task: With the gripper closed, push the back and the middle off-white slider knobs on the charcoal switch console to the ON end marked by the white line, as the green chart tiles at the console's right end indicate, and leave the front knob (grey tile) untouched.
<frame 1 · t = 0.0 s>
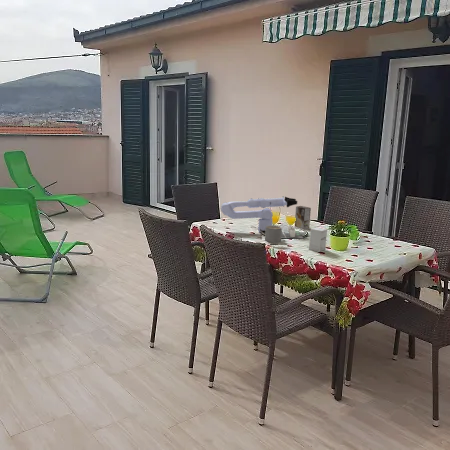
hand: (296, 201, 310), 22 cm above the table, tool horizontal, fingers open, 7 cm apart
slider back: (289, 228, 310), point 4 cm above the table, slide at 0.0 cm
coffee box: (301, 229, 327), on the table
coffee mug: (274, 242, 287), on the table
slider front: (292, 233, 296), point 4 cm above the table, slide at 0.0 cm
supplement box: (317, 249, 274), on the table
slider middle: (291, 230, 303), point 4 cm above the table, slide at 0.0 cm
console: (289, 236, 303), on the table
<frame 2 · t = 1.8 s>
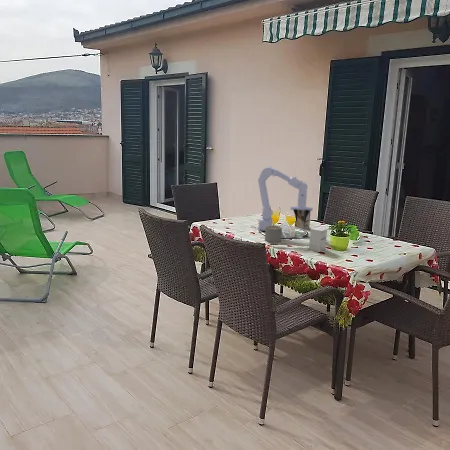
hand: (300, 220, 308), 9 cm above the table, tool pointing down, fingers open, 5 cm apart
nothing on the table moved.
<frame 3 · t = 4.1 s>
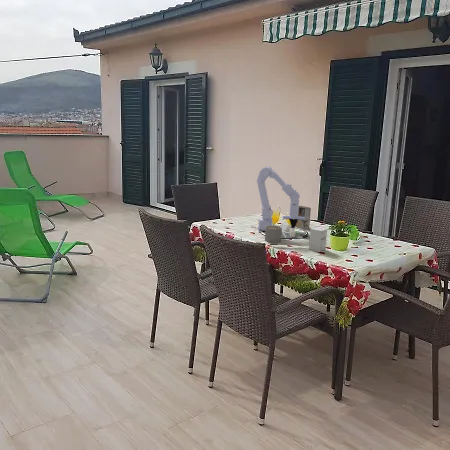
hand: (292, 230, 310), 3 cm above the table, tool pointing down, fingers closed
slider back: (288, 228, 310), point 4 cm above the table, slide at 1.1 cm, touching gripper
everything else where it was.
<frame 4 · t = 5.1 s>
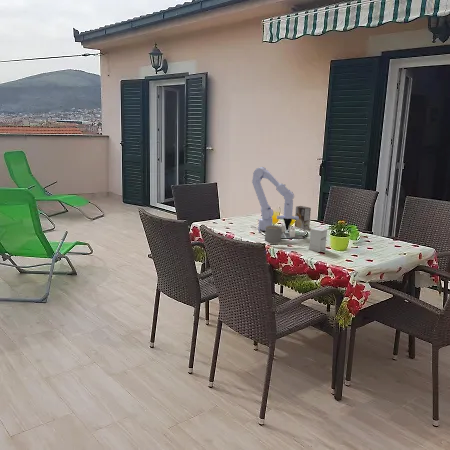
hand: (286, 229, 310), 3 cm above the table, tool pointing down, fingers closed
slider back: (282, 228, 310), point 4 cm above the table, slide at 4.9 cm, touching gripper
everything else where it was.
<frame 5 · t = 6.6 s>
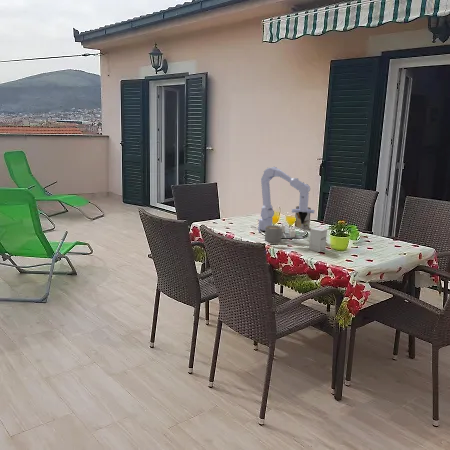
hand: (302, 223, 302), 9 cm above the table, tool pointing down, fingers closed
slider back: (282, 228, 310), point 4 cm above the table, slide at 5.0 cm
everything else where it was.
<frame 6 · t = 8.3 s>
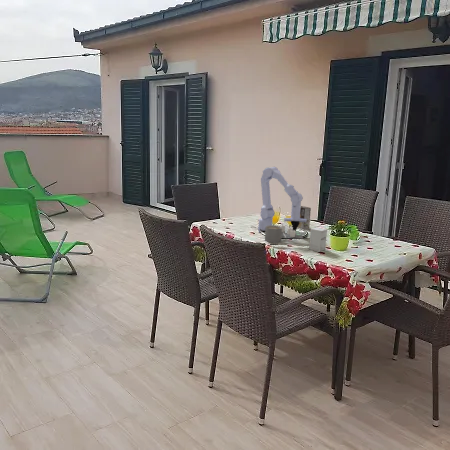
hand: (294, 232, 303), 3 cm above the table, tool pointing down, fingers closed
slider middle: (289, 230, 303), point 4 cm above the table, slide at 0.9 cm, touching gripper
everything else where it was.
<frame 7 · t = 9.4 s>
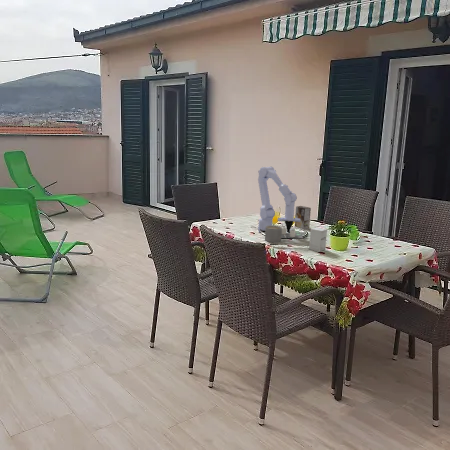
hand: (288, 232, 303), 3 cm above the table, tool pointing down, fingers closed
slider middle: (283, 230, 303), point 4 cm above the table, slide at 4.9 cm, touching gripper
everything else where it was.
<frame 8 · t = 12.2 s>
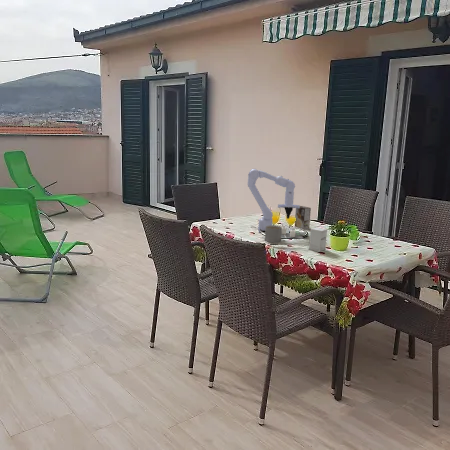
hand: (287, 218, 313), 10 cm above the table, tool pointing down, fingers closed
slider middle: (283, 230, 303), point 4 cm above the table, slide at 5.0 cm
everything else where it was.
at the end: slider back slide at 5.0 cm; slider middle slide at 5.0 cm; slider front slide at 0.0 cm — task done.
